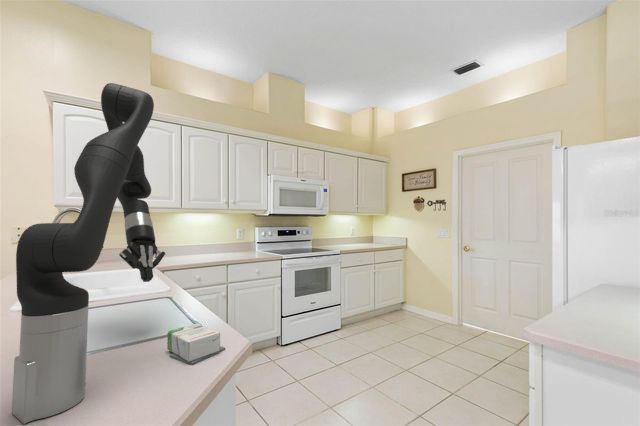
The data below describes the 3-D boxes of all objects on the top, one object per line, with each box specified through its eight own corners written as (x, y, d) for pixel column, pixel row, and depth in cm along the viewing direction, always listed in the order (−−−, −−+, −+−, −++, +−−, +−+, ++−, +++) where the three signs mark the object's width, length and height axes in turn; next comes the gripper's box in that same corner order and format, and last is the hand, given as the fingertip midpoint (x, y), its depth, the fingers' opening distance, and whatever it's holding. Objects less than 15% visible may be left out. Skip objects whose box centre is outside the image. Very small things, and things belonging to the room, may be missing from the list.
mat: (192, 365, 68) (192, 363, 68) (169, 357, 72) (169, 355, 72) (225, 349, 77) (225, 347, 77) (203, 343, 81) (203, 341, 81)
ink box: (166, 349, 75) (188, 363, 68) (167, 330, 76) (188, 341, 68) (198, 340, 82) (220, 351, 74) (198, 322, 82) (221, 331, 75)
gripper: (123, 220, 84) (130, 274, 77) (166, 226, 95) (176, 274, 88) (109, 233, 86) (116, 287, 79) (153, 238, 98) (162, 285, 91)
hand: (147, 280), depth 84 cm, fingers closed
